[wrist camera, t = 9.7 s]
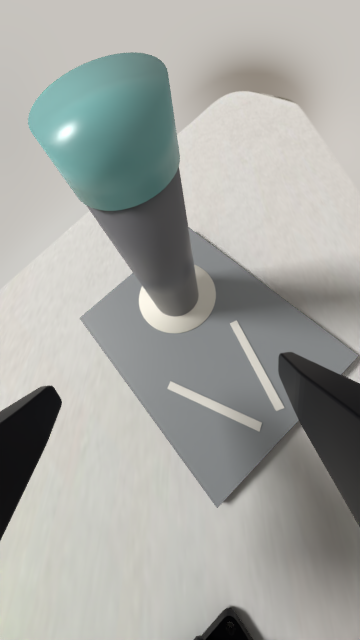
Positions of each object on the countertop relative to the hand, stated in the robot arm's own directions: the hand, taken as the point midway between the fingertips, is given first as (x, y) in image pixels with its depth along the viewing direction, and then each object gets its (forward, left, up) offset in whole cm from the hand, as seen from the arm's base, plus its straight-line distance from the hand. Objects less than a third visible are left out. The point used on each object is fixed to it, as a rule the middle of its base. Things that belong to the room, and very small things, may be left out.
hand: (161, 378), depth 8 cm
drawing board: (+2, -3, -9) cm, 10 cm away
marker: (+6, -4, -8) cm, 11 cm away
